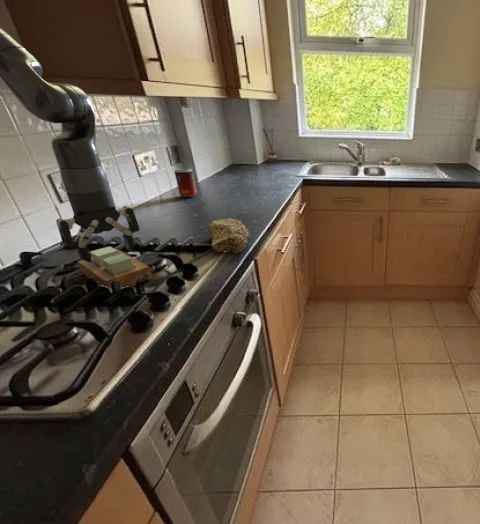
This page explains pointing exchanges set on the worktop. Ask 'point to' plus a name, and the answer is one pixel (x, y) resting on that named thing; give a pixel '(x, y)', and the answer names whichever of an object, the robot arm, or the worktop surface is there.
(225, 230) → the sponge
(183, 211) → the worktop surface
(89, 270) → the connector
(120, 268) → the pale green block
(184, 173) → the soda can
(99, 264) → the pad
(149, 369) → the worktop surface
